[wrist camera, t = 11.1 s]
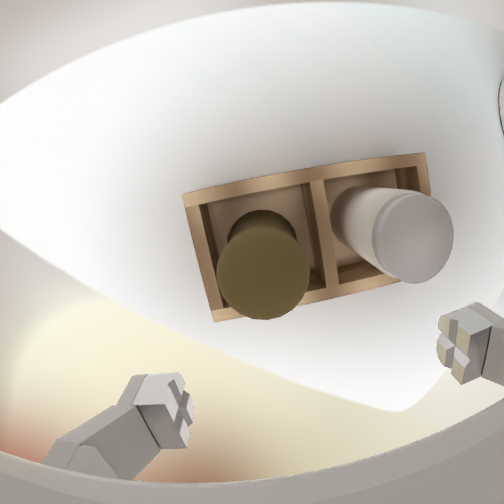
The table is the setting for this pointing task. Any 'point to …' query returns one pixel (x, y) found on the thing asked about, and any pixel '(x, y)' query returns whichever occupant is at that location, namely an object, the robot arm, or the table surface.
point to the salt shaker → (394, 230)
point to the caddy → (299, 221)
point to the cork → (262, 266)
